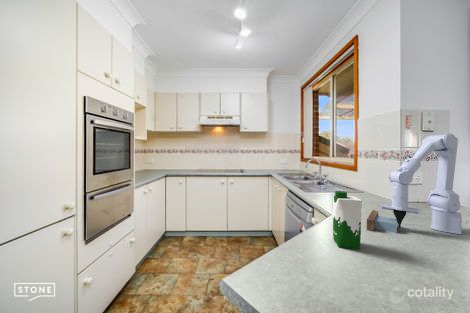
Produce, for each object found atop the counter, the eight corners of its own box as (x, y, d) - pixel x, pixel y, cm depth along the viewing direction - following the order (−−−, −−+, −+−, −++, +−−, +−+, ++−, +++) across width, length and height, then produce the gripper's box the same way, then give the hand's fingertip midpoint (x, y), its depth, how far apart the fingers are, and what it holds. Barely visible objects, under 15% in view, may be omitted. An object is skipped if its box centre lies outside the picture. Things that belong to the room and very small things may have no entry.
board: (378, 220, 106) (378, 211, 106) (373, 231, 91) (373, 220, 91) (372, 219, 107) (372, 210, 107) (366, 230, 92) (366, 219, 92)
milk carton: (330, 238, 82) (331, 189, 82) (354, 240, 80) (355, 190, 80) (336, 248, 74) (337, 193, 73) (364, 251, 72) (365, 195, 72)
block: (397, 227, 97) (397, 218, 96) (396, 233, 89) (396, 224, 89) (377, 223, 102) (377, 215, 102) (374, 228, 94) (374, 220, 94)
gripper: (379, 196, 94) (379, 225, 94) (422, 201, 85) (421, 233, 85) (381, 194, 99) (380, 221, 100) (421, 198, 90) (420, 229, 90)
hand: (399, 227), depth 92 cm, fingers closed
